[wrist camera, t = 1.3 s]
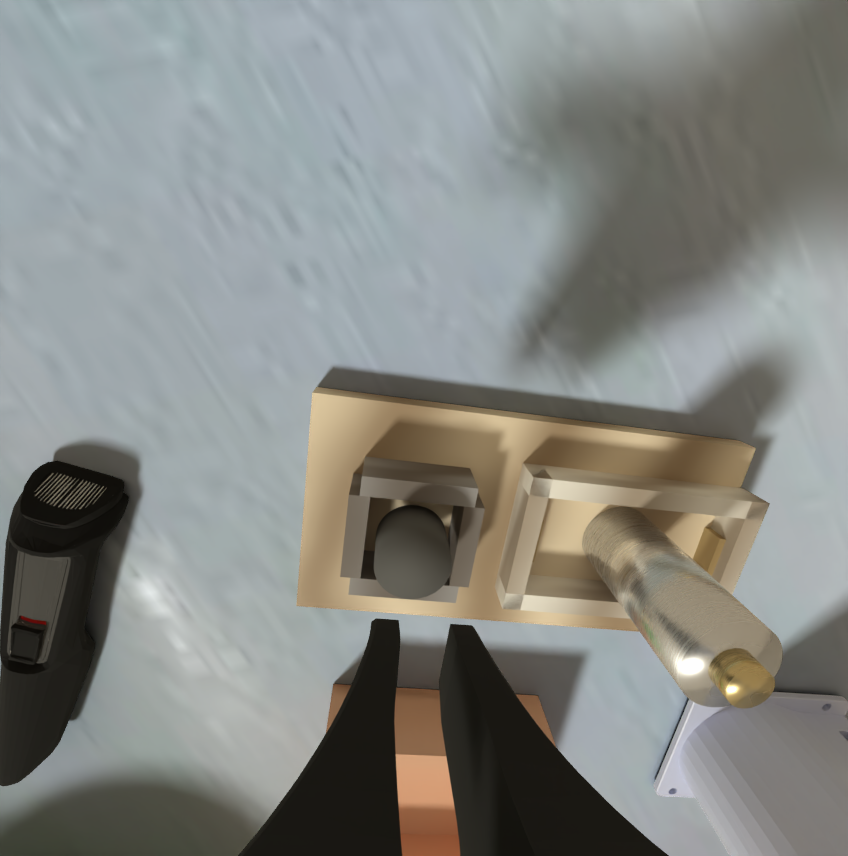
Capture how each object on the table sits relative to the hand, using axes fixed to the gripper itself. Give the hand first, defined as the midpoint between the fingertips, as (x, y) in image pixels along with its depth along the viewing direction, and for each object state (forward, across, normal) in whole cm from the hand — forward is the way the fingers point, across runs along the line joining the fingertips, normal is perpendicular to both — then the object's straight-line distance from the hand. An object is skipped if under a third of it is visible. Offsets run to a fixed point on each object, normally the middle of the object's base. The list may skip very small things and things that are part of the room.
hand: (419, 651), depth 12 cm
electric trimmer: (+9, +15, +7) cm, 19 cm away
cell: (+7, -10, 0) cm, 12 cm away
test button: (+6, 0, 0) cm, 6 cm away
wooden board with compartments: (+8, -5, 0) cm, 10 cm away
